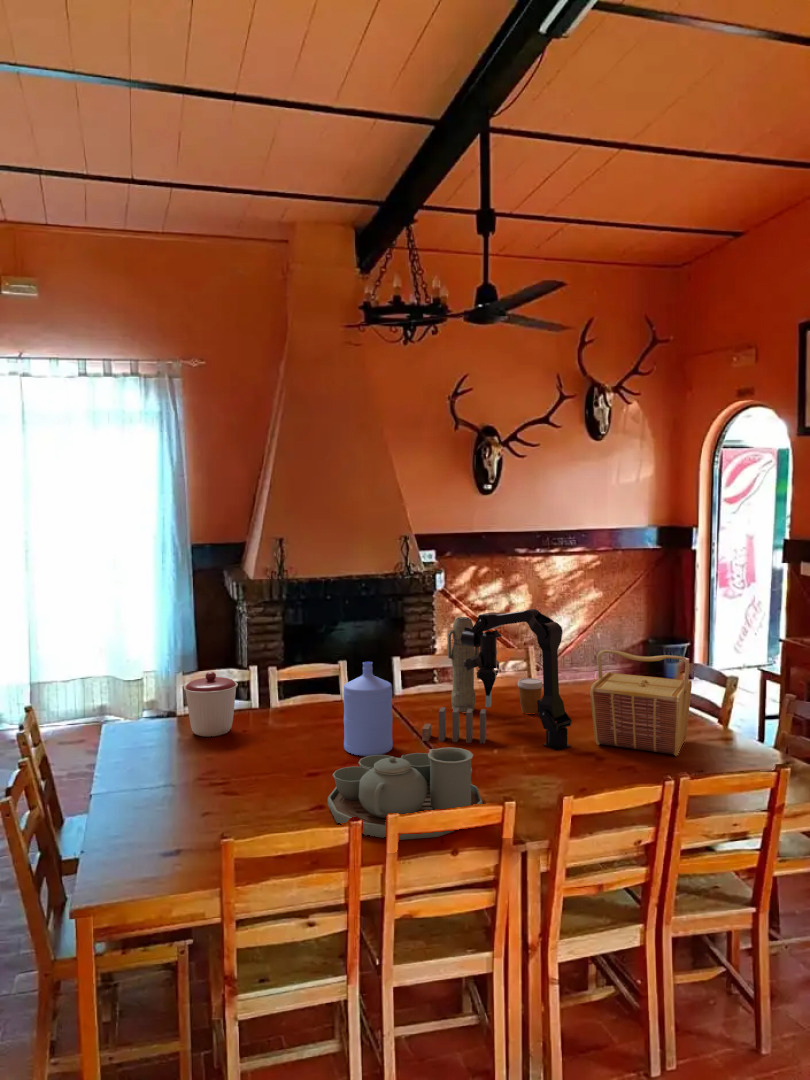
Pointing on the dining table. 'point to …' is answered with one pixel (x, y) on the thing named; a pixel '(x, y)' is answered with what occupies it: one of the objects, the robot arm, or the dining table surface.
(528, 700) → the disposable coffee cup
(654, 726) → the picnic basket
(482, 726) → the domino
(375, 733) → the water jug
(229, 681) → the canister
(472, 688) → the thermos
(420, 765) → the tea set
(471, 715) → the domino
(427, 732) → the end block
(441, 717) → the domino
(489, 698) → the teal domino
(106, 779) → the dining table surface
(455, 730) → the domino
